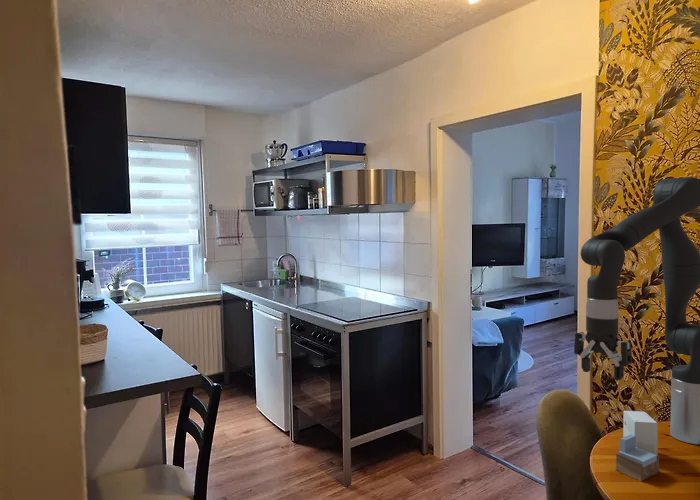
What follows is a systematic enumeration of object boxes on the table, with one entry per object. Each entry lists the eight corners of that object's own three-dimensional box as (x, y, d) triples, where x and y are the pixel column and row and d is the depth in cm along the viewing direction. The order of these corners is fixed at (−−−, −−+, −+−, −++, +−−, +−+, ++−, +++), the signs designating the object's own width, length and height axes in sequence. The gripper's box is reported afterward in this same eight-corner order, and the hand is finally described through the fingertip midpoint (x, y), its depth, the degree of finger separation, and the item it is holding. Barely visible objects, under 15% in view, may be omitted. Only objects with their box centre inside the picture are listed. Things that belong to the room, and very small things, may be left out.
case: (633, 462, 122) (634, 446, 121) (658, 472, 116) (658, 455, 116) (616, 470, 118) (616, 454, 117) (640, 481, 112) (641, 464, 112)
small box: (657, 462, 121) (658, 423, 121) (633, 460, 122) (634, 421, 122) (644, 448, 129) (645, 411, 129) (622, 446, 130) (623, 409, 130)
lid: (631, 451, 121) (632, 433, 121) (656, 460, 116) (657, 442, 116) (618, 456, 118) (618, 439, 118) (643, 467, 113) (643, 448, 113)
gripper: (637, 317, 119) (637, 380, 120) (584, 309, 131) (584, 366, 132) (621, 321, 115) (620, 385, 116) (568, 312, 127) (568, 371, 128)
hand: (601, 375), depth 124 cm, fingers open, 8 cm apart
